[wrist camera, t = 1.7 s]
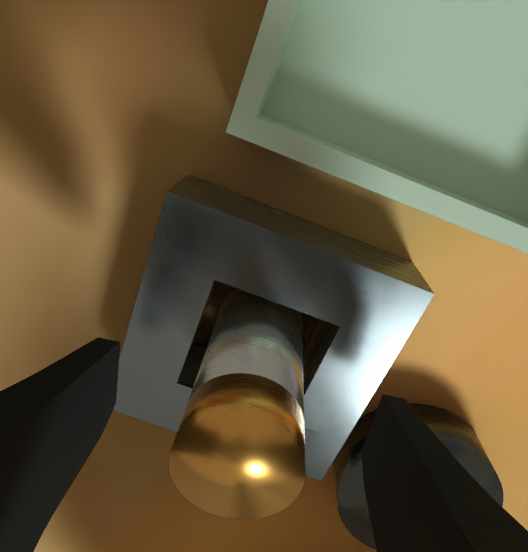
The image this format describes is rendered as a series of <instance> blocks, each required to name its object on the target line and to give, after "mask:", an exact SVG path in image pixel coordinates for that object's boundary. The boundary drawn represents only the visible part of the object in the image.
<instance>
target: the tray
mask: <svg viewBox="0 0 528 552" xmlns="http://www.w3.org/2000/svg"><path fill="white" fill-rule="evenodd" d="M226 133H229V134H231V135H234V136H236V137H239V138H241V139H244V140H246V141H249V142H251V143H254V144H256V145H259V146H261V147H264V148H266V149H269V150H271V151H274V152H276V153H279V154H281V155H283V156H286V157H288V158H291V159H293V160H296V161H298V162H301V163H303V164H306V165H308V166H311V167H313V168H316V169H318V170H321V171H323V172H326V173H328V174H331V175H333V176H336V177H338V178H341V179H343V180H346V181H348V182H351V183H353V184H356V185H358V186H361V187H363V188H366V189H368V190H371V191H373V192H376V193H378V194H381V195H383V196H386V197H388V198H391V199H393V200H396V201H398V202H401V203H403V204H406V205H408V206H411V207H413V208H416V209H418V210H421V211H423V212H426V213H428V214H431V215H433V216H436V217H438V218H441V219H443V220H446V221H448V222H451V223H453V224H456V225H458V226H461V227H463V228H466V229H468V230H470V231H473V232H475V233H478V234H480V235H483V236H485V237H488V238H490V239H493V240H495V241H498V242H500V243H503V244H505V245H508V246H510V247H513V248H515V249H518V250H520V251H523V252H525V253H528V0H268V3H267V6H266V9H265V13H264V16H263V19H262V22H261V25H260V28H259V31H258V34H257V37H256V40H255V43H254V46H253V50H252V53H251V56H250V59H249V62H248V65H247V68H246V71H245V74H244V77H243V80H242V83H241V87H240V90H239V93H238V96H237V99H236V102H235V105H234V108H233V111H232V114H231V117H230V120H229V124H228V127H227V130H226Z"/></svg>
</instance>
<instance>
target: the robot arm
mask: <svg viewBox="0 0 528 552" xmlns="http://www.w3.org/2000/svg"><path fill="white" fill-rule="evenodd" d="M119 354H120V342H117V341H112V340H107V339H102V338H97V339H95V340H93V341H91V342H89V343H88V344H86V345H84V346H82V347H81V348H79V349H77V350H76V351H74V352H72V353H71V354H69V355H67V356H65V357H64V358H62V359H60V360H59V361H57V362H55V363H53V364H51V365H50V366H48V367H46V368H44V369H43V370H41V371H39V372H37V373H35V374H34V375H32V376H30V377H28V378H26V379H24V380H22V381H20V382H18V383H16V384H14V385H12V386H10V387H8V388H6V389H4V390H2V391H0V552H33V551H34V549H35V547H36V545H37V543H38V541H39V539H40V537H41V535H42V533H43V531H44V529H45V528H46V526H47V524H48V522H49V521H50V519H51V517H52V515H53V513H54V512H55V510H56V509H57V507H58V505H59V504H60V502H61V500H62V499H63V497H64V496H65V494H66V492H67V491H68V489H69V487H70V486H71V484H72V483H73V481H74V479H75V478H76V476H77V475H78V473H79V471H80V470H81V468H82V466H83V465H84V463H85V462H86V460H87V458H88V457H89V455H90V453H91V452H92V450H93V448H94V447H95V445H96V443H97V442H98V440H99V438H100V437H101V435H102V433H103V431H104V428H105V426H106V424H107V422H108V420H109V418H110V415H111V413H112V411H113V409H114V406H115V404H116V398H117V383H118V369H119ZM362 467H363V480H364V490H365V495H366V500H367V505H368V511H369V516H370V521H371V526H372V530H373V535H374V540H375V545H376V550H377V552H528V531H527V530H526V529H525V528H524V527H523V526H522V525H521V524H519V523H518V522H517V521H516V520H515V519H514V518H513V517H512V516H511V515H510V514H509V513H508V512H507V511H505V510H504V509H503V508H502V507H501V506H500V505H499V504H498V503H497V502H496V501H495V500H494V499H493V498H492V497H491V496H490V495H489V494H488V493H487V492H486V491H485V490H484V489H483V488H482V486H481V485H480V484H479V483H478V482H477V481H476V480H475V479H474V478H473V477H472V476H471V475H470V474H469V473H468V472H467V471H466V469H465V468H464V467H463V466H462V465H461V464H460V463H459V462H458V461H457V459H456V458H455V457H454V456H453V455H452V454H451V453H450V451H449V450H448V449H447V448H446V447H445V446H444V444H443V443H442V442H441V441H440V440H439V439H438V437H437V436H436V435H435V434H434V433H433V431H432V430H431V429H430V428H429V427H428V425H427V424H426V423H425V422H424V421H423V419H422V418H421V417H420V416H419V415H418V413H417V412H416V411H415V410H414V409H413V408H412V406H411V405H410V404H409V403H408V402H407V401H406V400H405V399H402V398H397V397H392V396H387V395H382V398H381V401H380V403H379V406H378V409H377V411H376V414H375V417H374V419H373V422H372V425H371V427H370V430H369V433H368V435H367V438H366V441H365V443H364V446H363V449H362Z"/></svg>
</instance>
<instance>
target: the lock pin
mask: <svg viewBox="0 0 528 552" xmlns="http://www.w3.org/2000/svg"><path fill="white" fill-rule="evenodd" d="M169 471H170V475H171V478H172V480H173V483H174V484H175V486H176V488H177V489H178V490H179V492H180V493H181V494H182V495H183V496H184V497H185V498H186V499H187V500H188V501H189V502H191V503H192V504H193V505H195V506H197V507H198V508H200V509H202V510H204V511H206V512H208V513H211V514H213V515H216V516H220V517H223V518H229V519H237V520H251V519H259V518H264V517H267V516H271V515H273V514H276V513H278V512H280V511H282V510H283V509H285V508H287V507H288V506H289V505H290V504H292V503H293V502H294V500H295V499H296V498H297V497H298V495H299V494H300V492H301V490H302V488H303V486H304V482H305V475H306V468H305V426H304V384H303V343H302V313H301V312H300V311H297V310H294V309H292V308H289V307H286V306H284V305H281V304H278V303H275V302H273V301H270V300H267V299H265V298H262V297H259V296H257V295H254V294H251V293H249V292H246V291H243V290H241V289H238V288H234V289H233V290H232V291H231V292H230V293H229V294H228V295H227V296H226V298H225V299H224V301H223V304H222V306H221V309H220V312H219V315H218V318H217V321H216V323H215V326H214V329H213V332H212V335H211V338H210V340H209V343H208V346H207V349H206V352H205V355H204V357H203V360H202V363H201V366H200V369H199V372H198V375H197V377H196V380H195V383H194V386H193V389H192V392H191V394H190V397H189V400H188V403H187V406H186V409H185V411H184V414H183V417H182V420H181V423H180V426H179V428H178V431H177V434H176V437H175V440H174V443H173V446H172V448H171V452H170V455H169Z"/></svg>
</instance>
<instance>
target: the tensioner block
mask: <svg viewBox="0 0 528 552" xmlns="http://www.w3.org/2000/svg"><path fill="white" fill-rule="evenodd" d="M216 281H219V282H222V283H224V284H227V285H230V286H232V287H235V288H238V289H241V290H243V291H246V292H249V293H251V294H254V295H257V296H259V297H262V298H265V299H267V300H270V301H273V302H275V303H278V304H281V305H284V306H286V307H289V308H292V309H294V310H297V311H300V312H302V313H305V314H308V315H310V316H313V317H316V318H318V319H320V320H319V322H318V324H317V326H316V328H315V330H314V332H313V334H312V336H311V338H310V340H309V342H308V344H307V346H306V348H305V350H304V352H303V384H304V426H305V468H306V475H305V476H307V477H309V478H312V479H315V480H318V481H322V479H323V477H324V476H325V474H326V472H327V471H328V469H329V467H330V466H331V464H332V462H333V461H334V471H335V481H336V491H337V501H338V509H339V514H340V517H341V519H342V522H343V523H344V525H345V526H346V528H347V529H348V530H349V532H350V533H351V534H352V535H353V536H354V537H355V538H357V539H358V540H359V541H361V542H362V543H364V544H365V545H367V546H369V547H371V548H373V549H375V550H376V545H375V540H374V535H373V530H372V526H371V521H370V516H369V511H368V505H367V500H366V495H365V490H364V480H363V467H362V449H363V446H364V443H365V441H366V438H367V435H368V433H369V430H370V427H371V425H372V422H373V419H374V417H375V414H376V411H377V410H376V411H374V412H372V413H370V414H367V415H365V416H364V417H362V418H361V419H359V418H360V416H361V415H362V413H363V411H364V410H365V408H366V406H367V405H368V403H369V401H370V400H371V398H372V396H373V395H374V393H375V391H376V390H377V388H378V386H379V385H380V383H381V382H382V380H383V378H384V377H385V375H386V373H387V372H388V370H389V368H390V367H391V365H392V363H393V362H394V360H395V358H396V357H397V355H398V353H399V352H400V350H401V349H402V347H403V345H404V344H405V342H406V340H407V339H408V337H409V335H410V334H411V332H412V330H413V329H414V327H415V325H416V324H417V322H418V320H419V319H420V317H421V316H422V314H423V312H424V311H425V309H426V307H427V306H428V304H429V302H430V301H431V299H432V297H433V296H434V292H433V291H432V290H431V288H430V287H429V285H428V284H427V282H426V281H425V279H424V278H423V276H422V275H421V274H420V272H419V271H418V269H417V268H416V266H415V265H414V263H413V262H411V261H408V260H405V259H403V258H400V257H398V256H395V255H393V254H390V253H387V252H385V251H382V250H380V249H377V248H375V247H372V246H370V245H367V244H364V243H362V242H359V241H357V240H354V239H352V238H349V237H346V236H344V235H341V234H339V233H336V232H334V231H331V230H329V229H326V228H323V227H321V226H318V225H316V224H313V223H311V222H308V221H305V220H303V219H300V218H298V217H295V216H293V215H290V214H288V213H285V212H282V211H280V210H277V209H275V208H272V207H270V206H267V205H264V204H262V203H259V202H257V201H254V200H252V199H249V198H247V197H244V196H241V195H239V194H236V193H234V192H231V191H229V190H226V189H223V188H221V187H218V186H216V185H213V184H211V183H208V182H205V181H203V180H200V179H198V178H195V177H193V176H190V175H188V176H187V177H185V178H184V179H183V180H181V181H180V182H179V183H177V184H176V185H175V186H173V187H172V188H171V189H169V190H168V191H167V194H166V197H165V201H164V204H163V208H162V211H161V215H160V218H159V222H158V225H157V229H156V232H155V236H154V239H153V243H152V246H151V250H150V253H149V257H148V260H147V264H146V267H145V271H144V274H143V278H142V281H141V285H140V288H139V292H138V295H137V299H136V302H135V306H134V309H133V313H132V316H131V320H130V323H129V327H128V330H127V334H126V337H125V341H124V344H123V348H122V351H121V355H120V358H119V369H118V383H117V398H116V404H115V406H114V409H113V411H116V412H118V413H121V414H124V415H127V416H130V417H133V418H136V419H139V420H142V421H145V422H148V423H151V424H154V425H157V426H160V427H163V428H165V429H168V430H171V431H174V432H177V431H178V428H179V426H180V423H181V420H182V417H183V414H184V411H185V409H186V406H187V403H188V400H189V397H190V394H191V392H192V389H193V386H194V383H195V380H196V377H197V375H198V372H199V369H200V366H201V363H202V360H203V357H204V355H205V352H206V349H207V347H204V346H201V345H198V344H196V343H194V340H195V337H196V334H197V332H198V329H199V326H200V324H201V321H202V318H203V315H204V313H205V310H206V307H207V304H208V302H209V299H210V296H211V293H212V291H213V288H214V285H215V282H216ZM410 405H411V406H412V408H413V409H414V410H415V411H416V412H417V413H418V415H419V416H420V417H421V418H422V419H423V421H424V422H425V423H426V424H427V425H428V427H429V428H430V429H431V430H432V431H433V433H434V434H435V435H436V436H437V437H438V439H439V440H440V441H441V442H442V443H443V444H444V446H445V447H446V448H447V449H448V450H449V451H450V453H451V454H452V455H453V456H454V457H455V458H456V459H457V461H458V462H459V463H460V464H461V465H462V466H463V467H464V468H465V469H466V471H467V472H468V473H469V474H470V475H471V476H472V477H473V478H474V479H475V480H476V481H477V482H478V483H479V484H480V485H481V486H482V488H483V489H484V490H485V491H486V492H487V493H488V494H489V495H490V496H491V497H492V498H493V499H494V500H495V501H496V502H497V503H498V504H499V505H500V506H501V507H502V505H503V489H502V485H501V482H500V480H499V478H498V475H497V474H496V472H495V470H494V468H493V466H492V464H491V462H490V460H489V458H488V456H487V455H486V453H485V451H484V449H483V447H482V445H481V443H480V441H479V439H478V437H477V436H476V434H475V433H474V431H473V430H472V428H471V427H470V426H469V425H468V424H467V423H466V422H465V421H463V420H462V419H461V418H459V417H458V416H456V415H454V414H453V413H451V412H448V411H446V410H444V409H441V408H437V407H434V406H428V405H421V404H410ZM358 419H359V420H358Z"/></svg>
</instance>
